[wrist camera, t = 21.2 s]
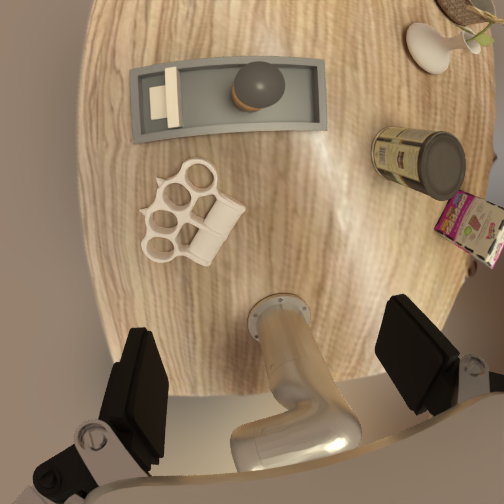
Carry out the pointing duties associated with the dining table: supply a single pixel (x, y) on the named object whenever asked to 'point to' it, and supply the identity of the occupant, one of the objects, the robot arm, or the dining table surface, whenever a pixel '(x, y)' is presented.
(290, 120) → the grey rectangular tray
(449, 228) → the candy bar box
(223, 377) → the dining table surface
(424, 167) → the coffee can
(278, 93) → the jar
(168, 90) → the plate
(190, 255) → the knuckle duster
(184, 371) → the dining table surface
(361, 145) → the dining table surface
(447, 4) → the planter
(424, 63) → the flower in vase
